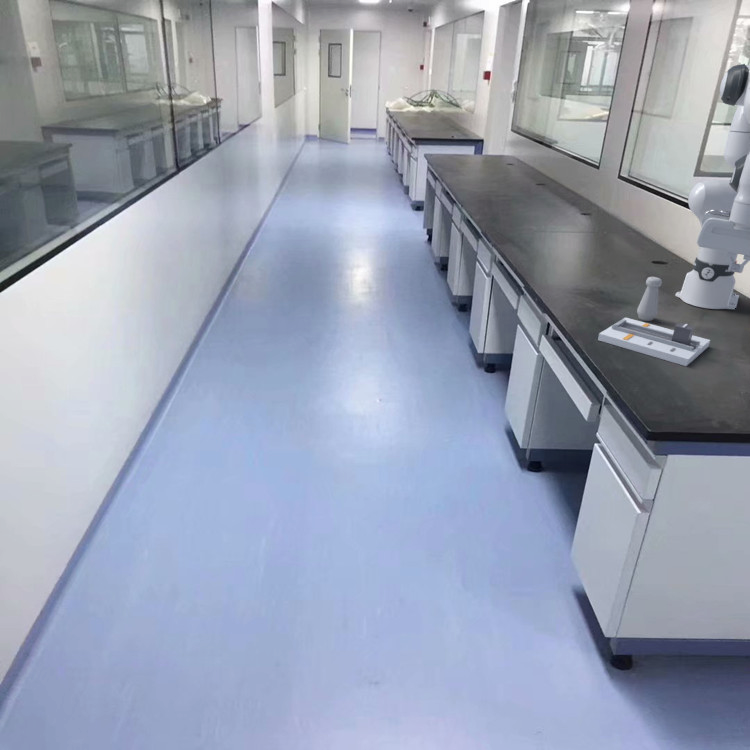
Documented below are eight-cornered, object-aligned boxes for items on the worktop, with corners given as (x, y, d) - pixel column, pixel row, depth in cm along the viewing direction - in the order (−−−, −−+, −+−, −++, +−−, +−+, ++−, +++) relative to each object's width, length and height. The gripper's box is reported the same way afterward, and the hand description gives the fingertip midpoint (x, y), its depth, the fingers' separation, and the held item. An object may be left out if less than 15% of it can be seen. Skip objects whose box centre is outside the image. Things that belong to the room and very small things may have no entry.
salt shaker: (650, 315, 194) (660, 275, 188) (659, 322, 188) (669, 281, 183) (632, 315, 193) (641, 274, 188) (640, 322, 188) (649, 280, 182)
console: (624, 323, 187) (626, 312, 185) (708, 346, 172) (711, 335, 171) (597, 340, 175) (600, 328, 173) (686, 366, 160) (689, 353, 159)
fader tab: (674, 340, 170) (679, 321, 168) (689, 344, 168) (694, 325, 166) (670, 343, 169) (675, 324, 166) (686, 347, 166) (691, 328, 164)
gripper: (701, 209, 152) (687, 265, 158) (796, 224, 140) (777, 283, 146) (709, 206, 156) (695, 260, 162) (802, 220, 144) (783, 277, 150)
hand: (735, 271), depth 154 cm, fingers closed
